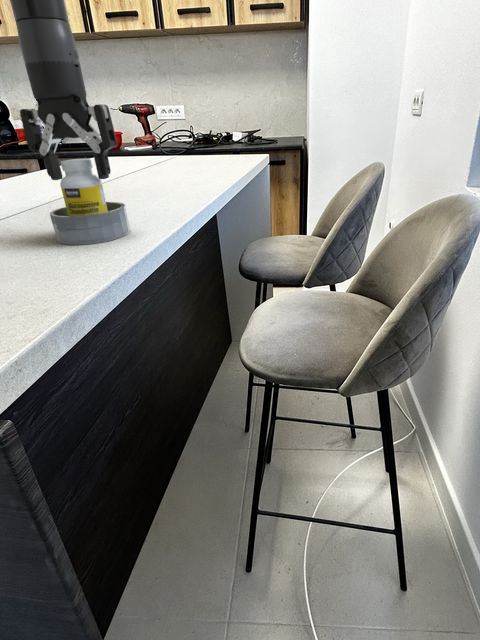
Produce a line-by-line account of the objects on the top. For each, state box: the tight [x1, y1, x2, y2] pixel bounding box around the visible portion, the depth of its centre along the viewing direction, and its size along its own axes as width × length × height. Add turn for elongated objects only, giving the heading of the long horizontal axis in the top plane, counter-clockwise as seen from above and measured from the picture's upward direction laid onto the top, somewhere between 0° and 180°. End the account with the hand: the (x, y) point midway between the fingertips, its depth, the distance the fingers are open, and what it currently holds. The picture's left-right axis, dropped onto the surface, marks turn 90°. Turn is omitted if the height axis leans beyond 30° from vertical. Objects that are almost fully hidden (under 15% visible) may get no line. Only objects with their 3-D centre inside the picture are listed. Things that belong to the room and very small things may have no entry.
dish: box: [49, 201, 131, 246], centre depth 74 cm, size 12×12×4 cm
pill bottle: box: [59, 158, 108, 216], centre depth 72 cm, size 6×6×12 cm
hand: (80, 179), depth 71 cm, fingers open, 8 cm apart
